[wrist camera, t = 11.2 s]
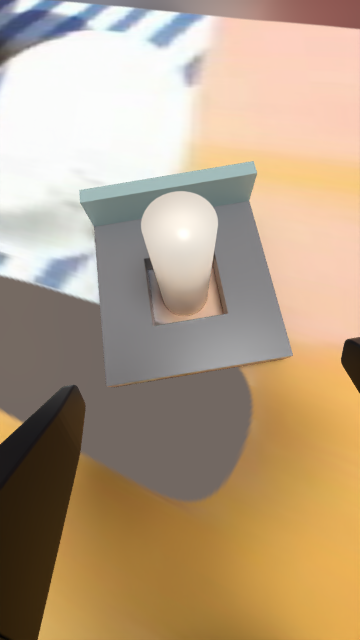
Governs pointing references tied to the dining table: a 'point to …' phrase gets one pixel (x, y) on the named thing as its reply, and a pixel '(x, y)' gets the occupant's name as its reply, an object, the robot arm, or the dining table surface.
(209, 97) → the dining table surface
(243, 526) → the dining table surface
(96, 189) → the housing
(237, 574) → the dining table surface
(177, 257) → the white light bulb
